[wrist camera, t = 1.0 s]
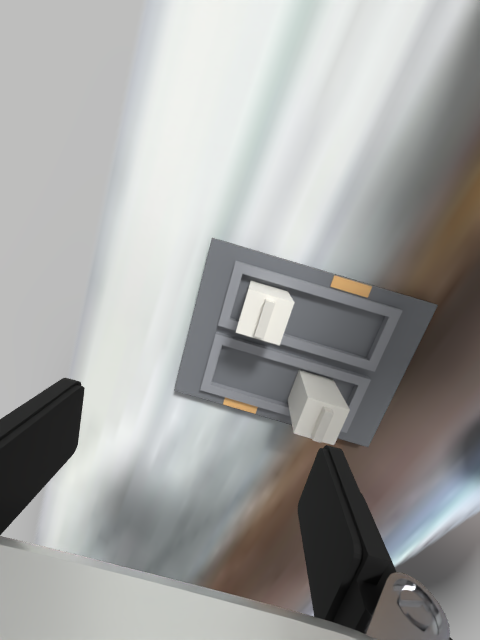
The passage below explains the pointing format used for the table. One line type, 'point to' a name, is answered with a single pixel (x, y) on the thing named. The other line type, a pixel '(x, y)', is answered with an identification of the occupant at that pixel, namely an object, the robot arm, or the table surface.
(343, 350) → the switch bank
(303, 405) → the tab
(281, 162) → the table surface
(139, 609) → the robot arm
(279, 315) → the tab
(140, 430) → the table surface
